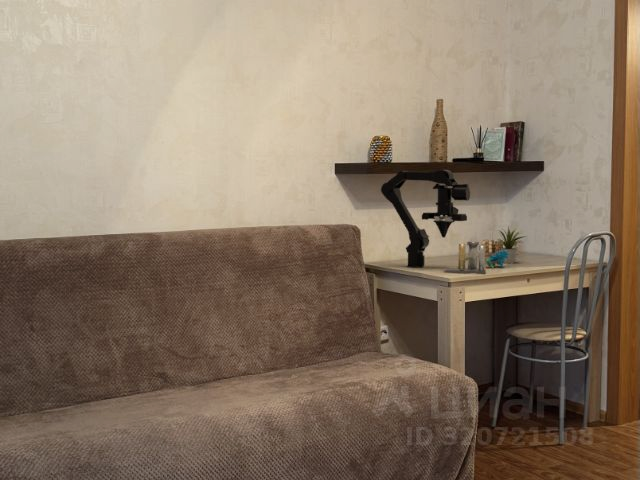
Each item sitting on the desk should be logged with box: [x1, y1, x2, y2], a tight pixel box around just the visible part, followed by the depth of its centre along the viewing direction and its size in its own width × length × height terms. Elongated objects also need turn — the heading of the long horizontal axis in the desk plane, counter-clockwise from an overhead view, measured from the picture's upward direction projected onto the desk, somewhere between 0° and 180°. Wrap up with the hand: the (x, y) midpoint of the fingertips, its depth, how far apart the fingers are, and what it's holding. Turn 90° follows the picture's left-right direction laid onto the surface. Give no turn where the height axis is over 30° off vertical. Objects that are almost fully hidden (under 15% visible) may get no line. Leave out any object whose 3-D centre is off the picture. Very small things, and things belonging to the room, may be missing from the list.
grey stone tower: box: [466, 241, 486, 271], centre depth 320 cm, size 5×18×11 cm, turn 8°
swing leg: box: [457, 243, 473, 269], centre depth 318 cm, size 13×3×10 cm, turn 151°
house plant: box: [496, 226, 528, 264], centre depth 348 cm, size 14×14×16 cm
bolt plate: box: [443, 267, 487, 275], centre depth 315 cm, size 16×6×1 cm, turn 76°
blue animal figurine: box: [485, 249, 508, 269], centre depth 331 cm, size 11×6×10 cm
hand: (443, 237), depth 327 cm, fingers closed
